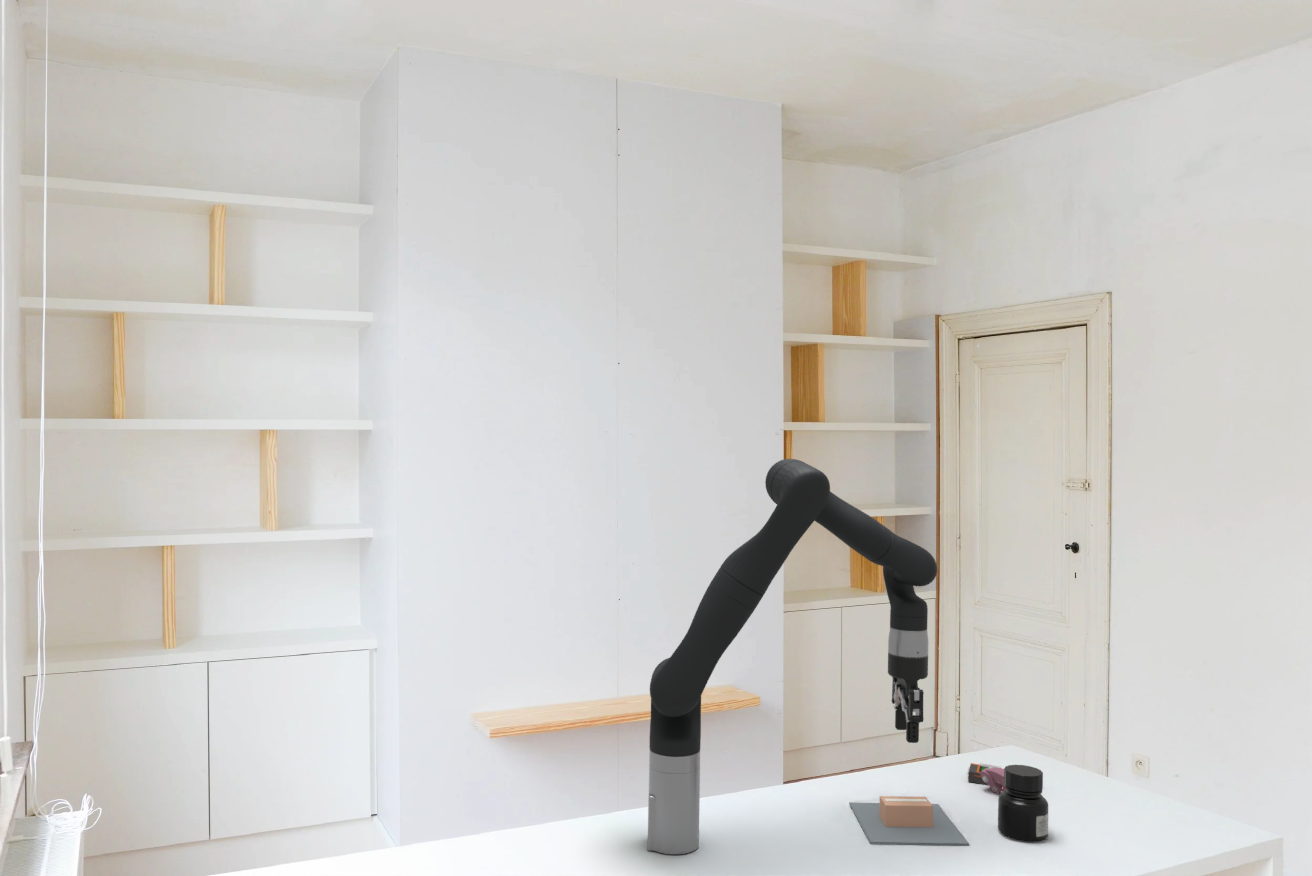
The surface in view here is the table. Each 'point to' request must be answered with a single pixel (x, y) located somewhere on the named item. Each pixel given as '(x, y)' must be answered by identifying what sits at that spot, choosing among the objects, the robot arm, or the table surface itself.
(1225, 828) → the table surface
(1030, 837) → the ink bottle
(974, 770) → the electronic device
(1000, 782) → the video game controller
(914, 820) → the box
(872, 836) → the mat
